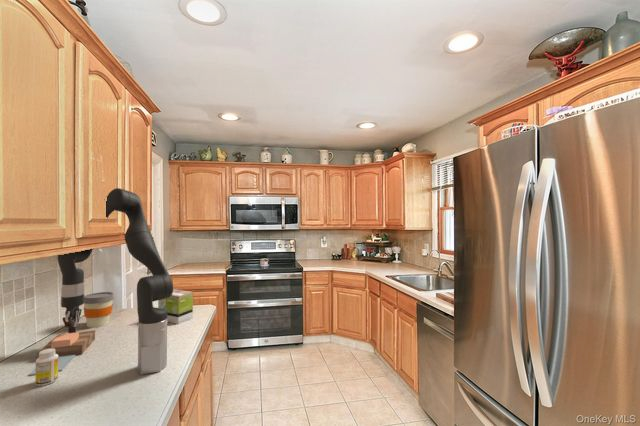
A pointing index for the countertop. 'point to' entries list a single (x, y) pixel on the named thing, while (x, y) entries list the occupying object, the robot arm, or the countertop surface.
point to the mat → (59, 363)
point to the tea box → (178, 306)
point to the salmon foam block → (64, 340)
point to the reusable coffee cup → (98, 308)
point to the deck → (74, 344)
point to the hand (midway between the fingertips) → (72, 335)
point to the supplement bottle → (46, 367)
